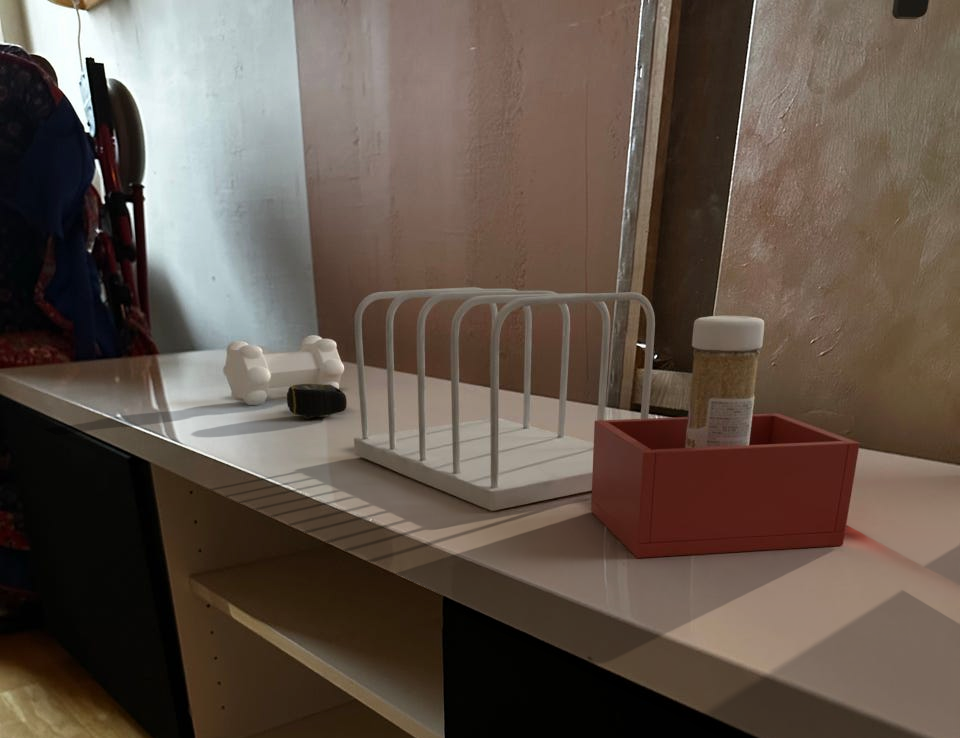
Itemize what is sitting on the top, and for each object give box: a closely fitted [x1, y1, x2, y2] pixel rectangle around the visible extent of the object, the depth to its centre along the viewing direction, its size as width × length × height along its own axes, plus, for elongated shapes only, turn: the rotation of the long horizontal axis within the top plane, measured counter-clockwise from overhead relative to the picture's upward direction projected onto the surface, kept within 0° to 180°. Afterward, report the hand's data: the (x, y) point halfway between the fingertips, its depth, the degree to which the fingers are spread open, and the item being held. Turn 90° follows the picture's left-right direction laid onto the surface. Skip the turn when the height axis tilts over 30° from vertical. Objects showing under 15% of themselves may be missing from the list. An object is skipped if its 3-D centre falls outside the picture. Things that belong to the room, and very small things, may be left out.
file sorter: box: [353, 287, 656, 512], centre depth 78 cm, size 25×17×16 cm
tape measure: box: [286, 384, 348, 420], centre depth 108 cm, size 7×7×4 cm
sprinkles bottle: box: [685, 315, 765, 448], centre depth 60 cm, size 5×5×13 cm
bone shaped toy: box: [222, 334, 345, 406], centre depth 121 cm, size 15×9×8 cm, turn 132°
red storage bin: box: [590, 412, 861, 559], centre depth 62 cm, size 15×12×7 cm
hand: (947, 1), depth 56 cm, fingers open, 8 cm apart
